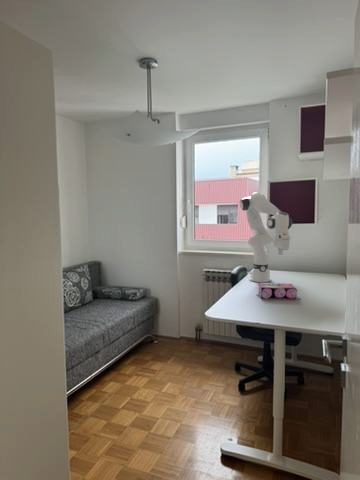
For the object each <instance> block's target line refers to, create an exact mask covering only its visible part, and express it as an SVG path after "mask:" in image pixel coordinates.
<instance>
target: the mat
mask: <svg viewBox="0 0 360 480" xmlns="http://www.w3.org/2000/svg"><path fill="white" fill-rule="evenodd" d="M255 295H256V296H257V297H258V298H259V299H260V300H262V301H283V300H284V301H288V300H289V301H290V300H292V301H293V300H294V301H295V300H301V298H300V297H298V295H297V296H296V297H297V298H296V299H262V298H261V297H260V295H259V293H256V294H255Z"/></svg>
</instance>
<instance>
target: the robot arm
mask: <svg viewBox="0 0 360 480" xmlns="http://www.w3.org/2000/svg"><path fill="white" fill-rule="evenodd" d="M239 206H240V209H241V210H242V211H246V218H247V223H248V225H249V228H250V231H251V232H253V233H254V234H253V235H251V236H250V237H248V239H247V240H248V242H247V243H248V245H249V246H250V248H251V249H252V252H253V261H254V262H253V267H252V269H251V271H250V272H249V275H248V277H247V278H248V281H249V282H257V283H269V282H270V281H271V282H272V278H271V272H270V270H269V264H268V263H269V262H268V261H269V260H268V259H269V256H268V253H267V252H266V251H265V248H268V247H271V246H273V247H276V248H277V251H278V255H279V256H282V255H283V252H284V251H288V250H289V249H290V240H291V235H290V234H289V229H290V228H292V226H293V220H292V218H291V217H290V216H289V213H287V212H284V211H282V210H281V209H280V208H279V207H278V206H277V205H274V204H273V203H272V202H271V201H269V200H268V199H267V198H266V196H265V195H264V194H262V193H261V192H259V191H255V192H253V193H252V194H251V195H250V196H247V197H243V198H241V199H240V201H239ZM260 213H262V214H267V215H272V216H270V217H268V219H267V221H266V225H267V228H268V229H269V230H275V231H274V236H273V235H272V234H270V233H269V231H267V229H266V227H265V226H264V223H263V220H262V216H261V215H260Z"/></svg>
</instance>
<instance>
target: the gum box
mask: <svg viewBox="0 0 360 480" xmlns="http://www.w3.org/2000/svg"><path fill="white" fill-rule="evenodd" d="M258 294H259V295H260V297H261V298H262V299H296V298H297V297H298V289H297V288H296V287H295V285H293V283H283V282H282V283H280V282H258ZM296 296H297V297H296ZM262 299H261V300H262Z"/></svg>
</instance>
